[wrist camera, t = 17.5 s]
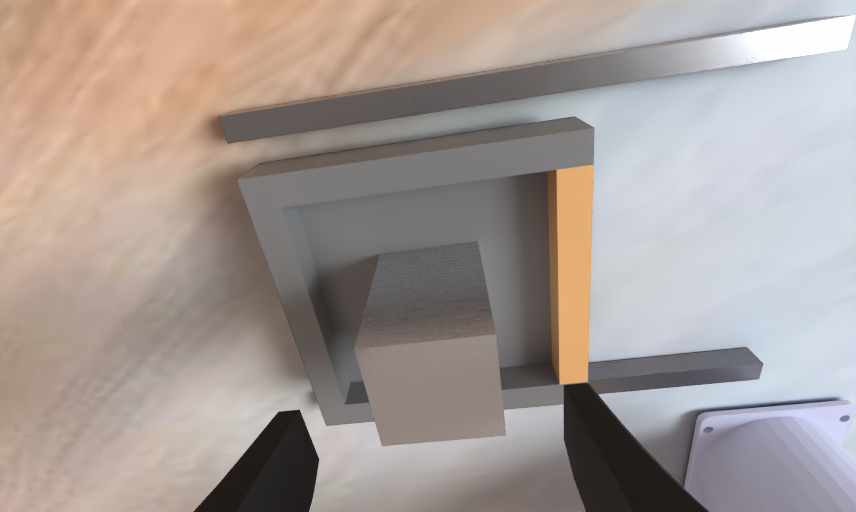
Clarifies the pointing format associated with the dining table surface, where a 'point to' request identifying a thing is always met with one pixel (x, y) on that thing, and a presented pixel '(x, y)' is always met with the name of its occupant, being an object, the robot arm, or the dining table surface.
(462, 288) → the metal part
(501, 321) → the grey shallow tray
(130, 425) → the dining table surface
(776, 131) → the dining table surface
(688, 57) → the track
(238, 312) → the dining table surface
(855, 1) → the dining table surface
